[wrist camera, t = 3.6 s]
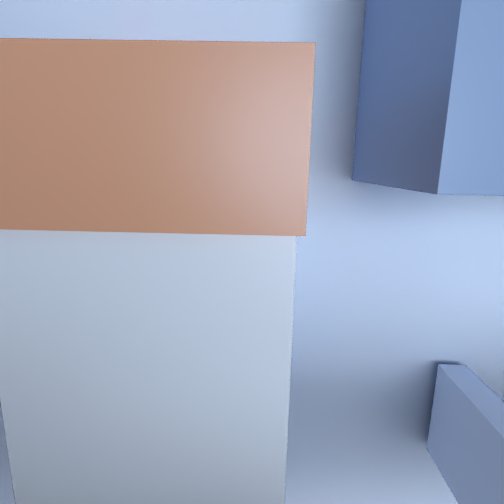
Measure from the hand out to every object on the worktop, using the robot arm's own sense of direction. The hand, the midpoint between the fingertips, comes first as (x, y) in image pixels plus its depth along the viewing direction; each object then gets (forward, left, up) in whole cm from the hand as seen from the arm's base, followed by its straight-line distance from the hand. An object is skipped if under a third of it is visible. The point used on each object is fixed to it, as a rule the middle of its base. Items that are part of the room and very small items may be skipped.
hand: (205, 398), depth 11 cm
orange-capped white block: (0, +1, 0) cm, 1 cm away
